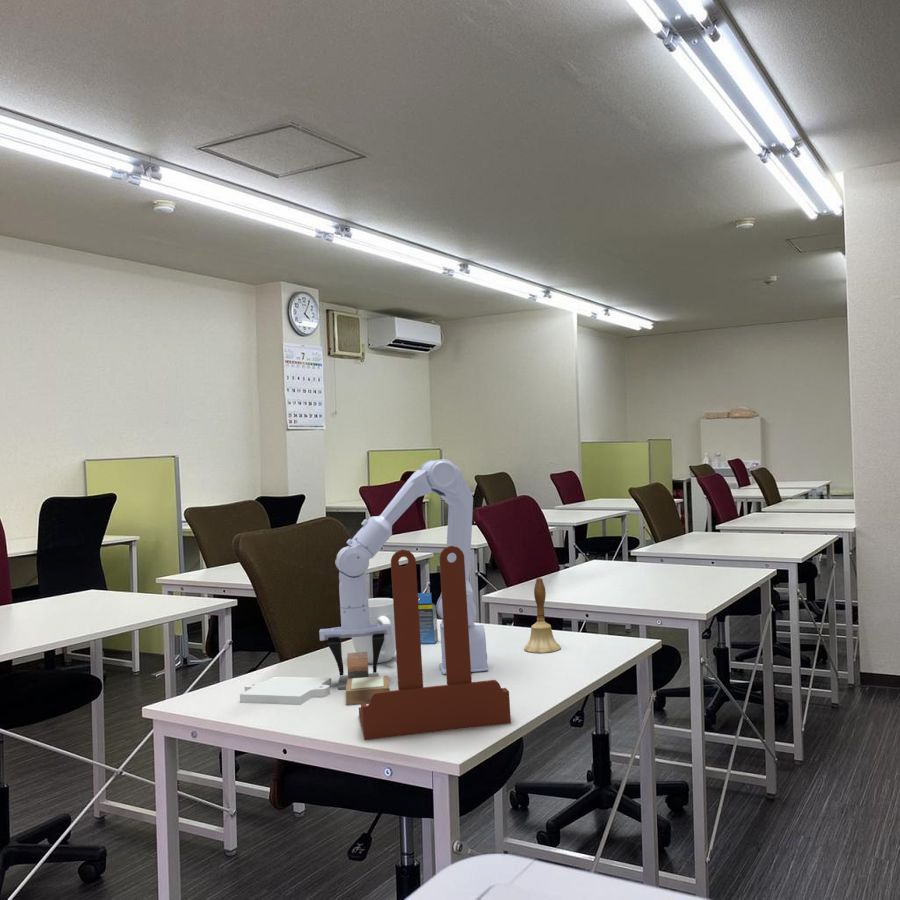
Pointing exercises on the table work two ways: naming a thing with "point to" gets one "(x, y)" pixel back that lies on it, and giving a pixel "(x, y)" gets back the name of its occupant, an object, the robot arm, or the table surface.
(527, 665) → the table surface
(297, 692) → the mounting plate
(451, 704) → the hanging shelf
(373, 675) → the mat
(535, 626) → the hand bell
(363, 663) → the block
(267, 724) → the table surface
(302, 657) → the table surface
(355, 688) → the stand
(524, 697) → the table surface
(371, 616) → the mug
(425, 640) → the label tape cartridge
